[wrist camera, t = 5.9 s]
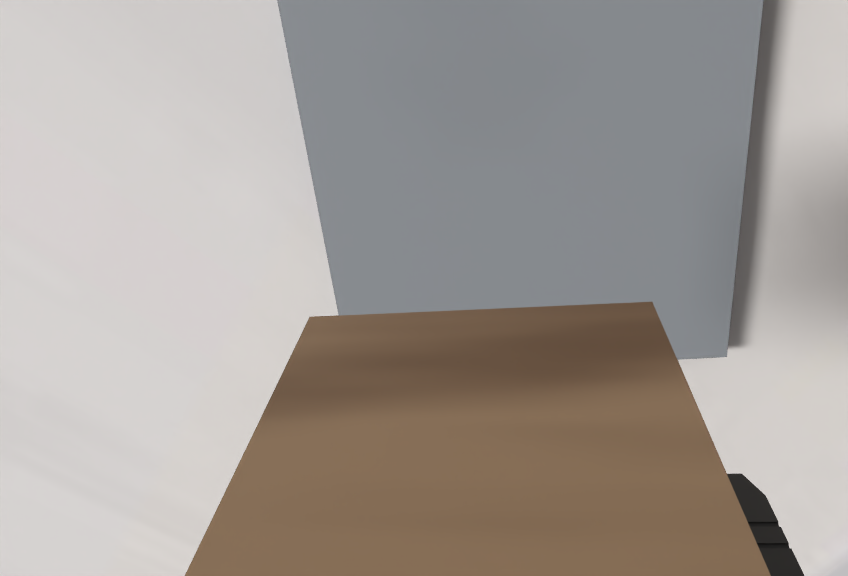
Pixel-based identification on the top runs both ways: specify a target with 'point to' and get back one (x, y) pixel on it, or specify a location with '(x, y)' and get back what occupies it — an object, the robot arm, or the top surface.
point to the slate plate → (530, 153)
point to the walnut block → (482, 454)
